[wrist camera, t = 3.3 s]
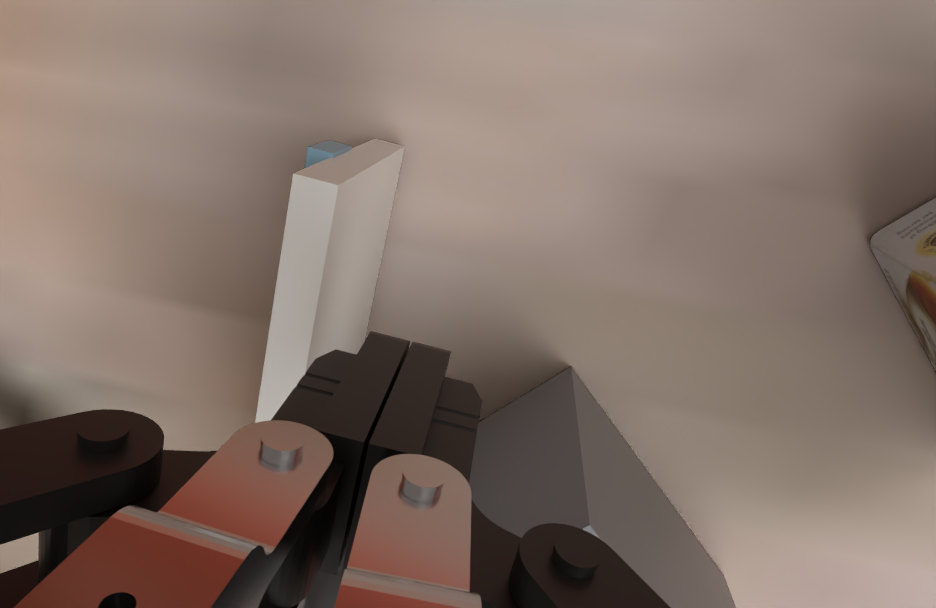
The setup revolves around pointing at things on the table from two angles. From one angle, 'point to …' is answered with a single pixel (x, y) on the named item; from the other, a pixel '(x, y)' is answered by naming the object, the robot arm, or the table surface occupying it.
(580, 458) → the block
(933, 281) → the coffee box
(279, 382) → the side door
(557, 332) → the table surface
